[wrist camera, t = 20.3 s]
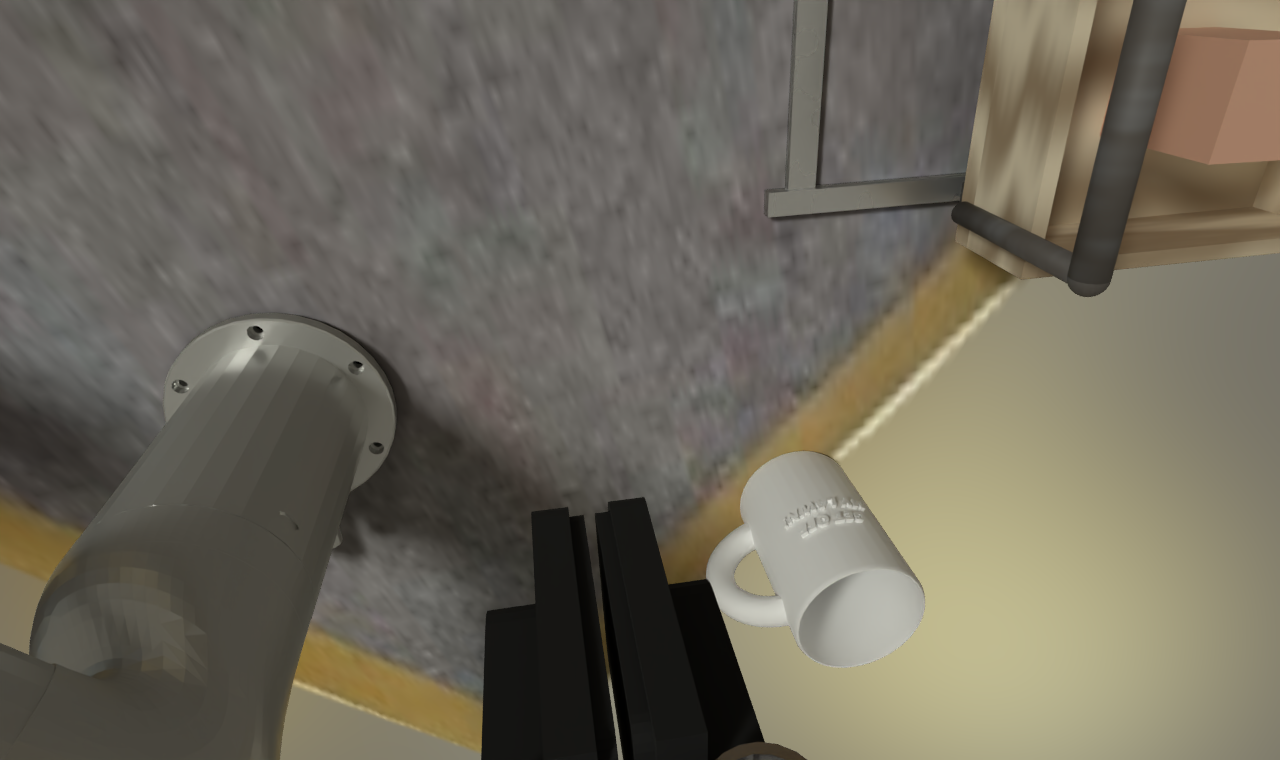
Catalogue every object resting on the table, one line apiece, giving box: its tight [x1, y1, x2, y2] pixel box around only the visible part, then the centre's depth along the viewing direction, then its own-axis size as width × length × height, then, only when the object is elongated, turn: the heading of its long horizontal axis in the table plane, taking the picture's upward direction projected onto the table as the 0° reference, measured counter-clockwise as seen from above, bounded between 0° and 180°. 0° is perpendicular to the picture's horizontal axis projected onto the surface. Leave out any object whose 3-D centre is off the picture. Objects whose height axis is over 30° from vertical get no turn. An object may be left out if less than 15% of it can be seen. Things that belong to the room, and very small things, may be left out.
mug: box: [706, 451, 925, 668], centre depth 49 cm, size 8×12×12 cm
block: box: [1099, 27, 1280, 165], centre depth 35 cm, size 5×5×7 cm
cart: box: [951, 0, 1280, 297], centre depth 35 cm, size 16×19×15 cm
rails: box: [764, 0, 966, 217], centre depth 42 cm, size 13×26×1 cm, turn 93°
